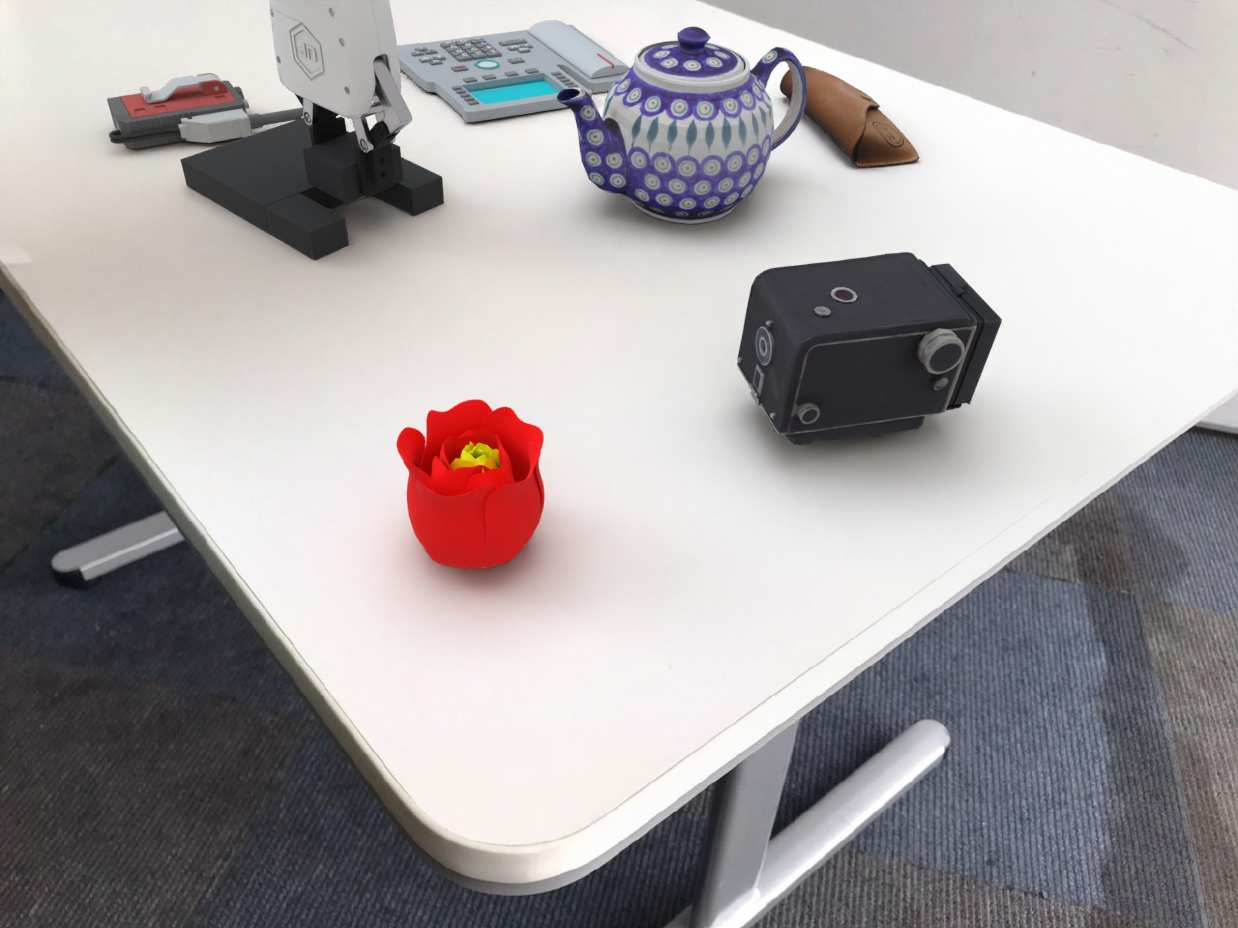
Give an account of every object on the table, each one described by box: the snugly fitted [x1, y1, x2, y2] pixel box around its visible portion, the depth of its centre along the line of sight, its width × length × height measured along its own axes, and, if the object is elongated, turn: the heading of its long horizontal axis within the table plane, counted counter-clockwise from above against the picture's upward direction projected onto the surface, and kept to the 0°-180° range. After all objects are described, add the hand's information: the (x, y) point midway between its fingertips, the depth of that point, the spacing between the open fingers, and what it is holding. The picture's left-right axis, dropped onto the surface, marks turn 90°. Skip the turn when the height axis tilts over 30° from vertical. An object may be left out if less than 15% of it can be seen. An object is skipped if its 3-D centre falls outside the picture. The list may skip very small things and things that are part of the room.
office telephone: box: [397, 19, 631, 123], centre depth 112 cm, size 23×3×20 cm
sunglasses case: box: [779, 65, 920, 168], centre depth 106 cm, size 18×7×7 cm
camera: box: [736, 251, 1003, 446], centre depth 66 cm, size 11×11×15 cm
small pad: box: [303, 130, 403, 204], centre depth 84 cm, size 6×5×3 cm
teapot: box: [556, 26, 807, 225], centre depth 88 cm, size 25×15×15 cm, turn 116°
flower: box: [396, 398, 546, 570], centre depth 57 cm, size 8×8×8 cm
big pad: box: [180, 117, 445, 261], centre depth 89 cm, size 14×18×2 cm
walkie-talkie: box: [106, 72, 303, 150], centre depth 98 cm, size 9×4×20 cm
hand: (355, 177), depth 85 cm, fingers closed on small pad, 4 cm apart
